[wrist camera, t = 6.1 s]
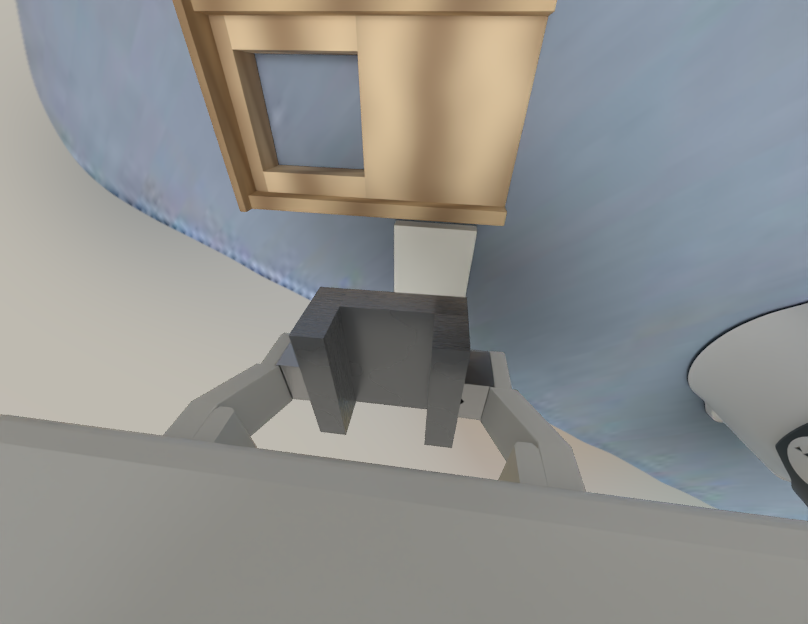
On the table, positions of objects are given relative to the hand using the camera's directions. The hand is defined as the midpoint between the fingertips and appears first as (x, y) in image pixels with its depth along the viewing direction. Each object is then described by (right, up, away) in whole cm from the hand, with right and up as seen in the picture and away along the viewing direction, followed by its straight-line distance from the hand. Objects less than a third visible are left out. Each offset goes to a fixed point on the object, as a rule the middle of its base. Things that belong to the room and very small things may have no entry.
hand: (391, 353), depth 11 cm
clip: (0, 0, 0) cm, 0 cm away
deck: (-2, +16, +10) cm, 19 cm away
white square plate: (+3, +7, +17) cm, 18 cm away
